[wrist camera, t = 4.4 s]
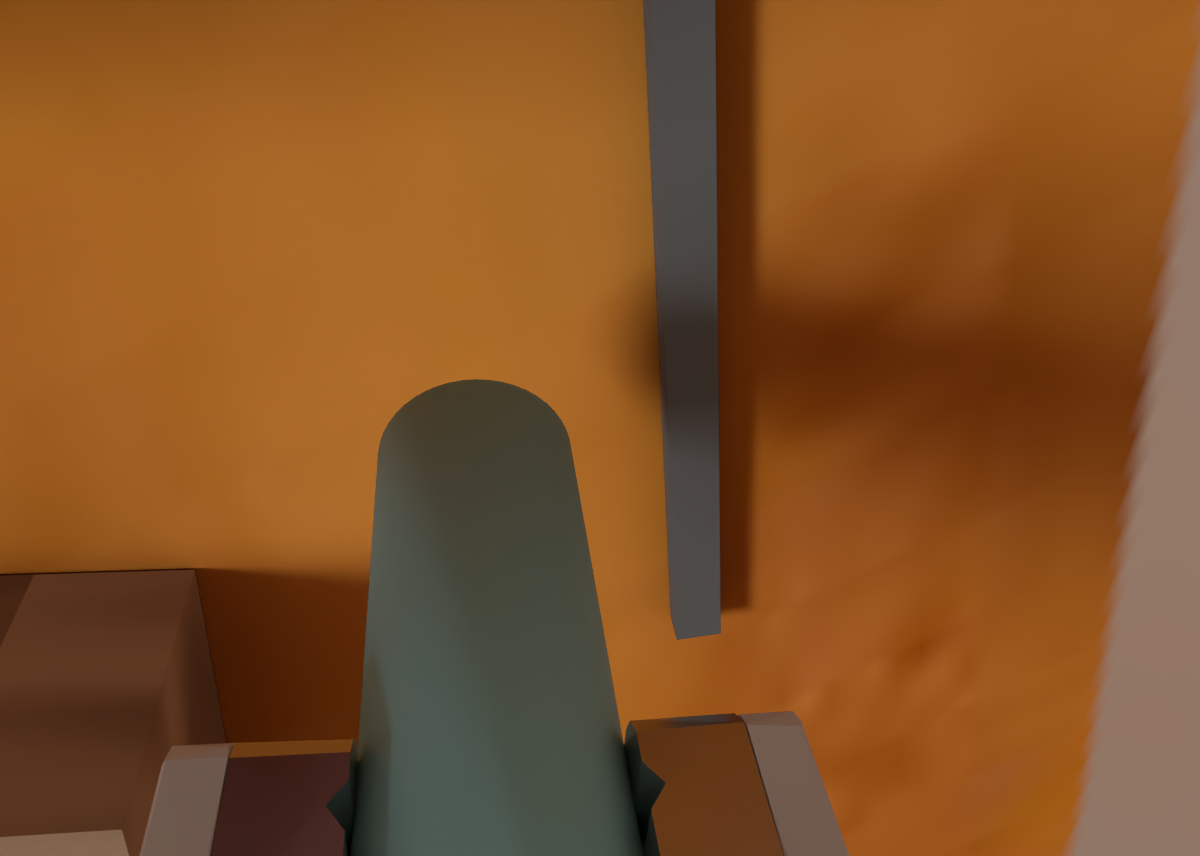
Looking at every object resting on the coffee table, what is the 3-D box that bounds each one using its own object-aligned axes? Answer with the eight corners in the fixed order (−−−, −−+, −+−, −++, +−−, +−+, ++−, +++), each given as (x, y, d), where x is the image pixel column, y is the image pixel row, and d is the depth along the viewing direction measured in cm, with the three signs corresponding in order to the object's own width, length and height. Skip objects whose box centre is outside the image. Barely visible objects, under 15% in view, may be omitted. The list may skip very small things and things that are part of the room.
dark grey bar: (619, -540, 11) (628, -553, 10) (698, -547, 11) (710, -557, 10) (671, 616, 20) (676, 639, 19) (713, 610, 20) (720, 633, 19)
